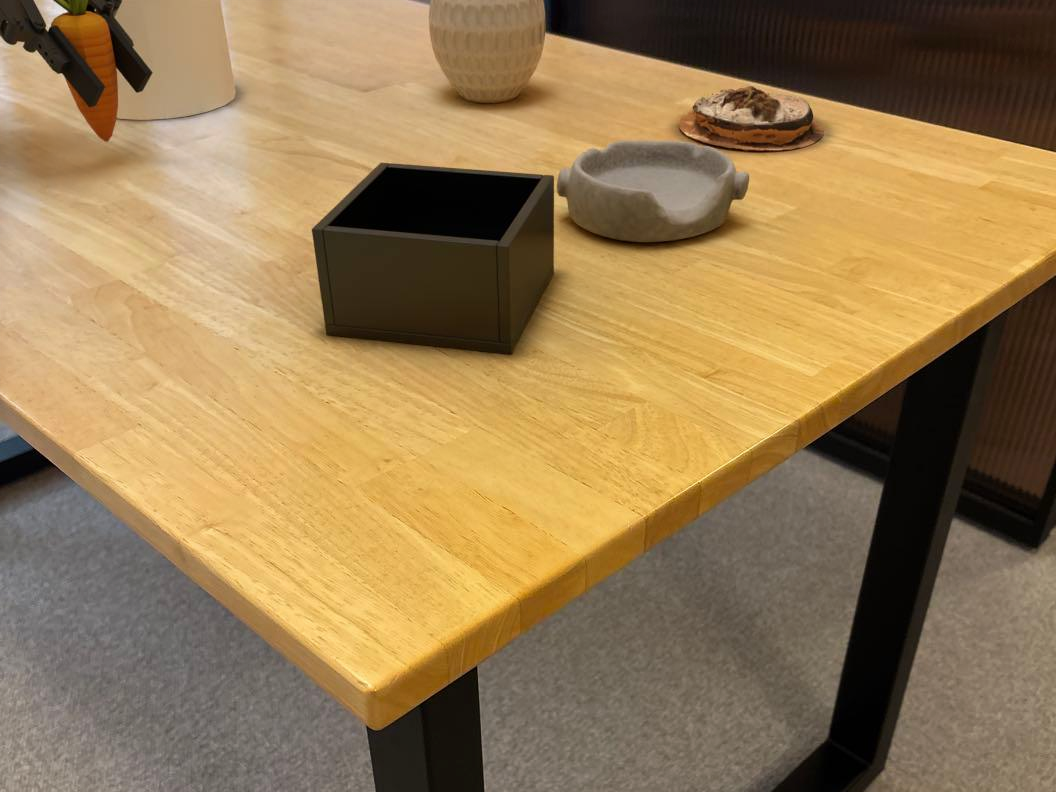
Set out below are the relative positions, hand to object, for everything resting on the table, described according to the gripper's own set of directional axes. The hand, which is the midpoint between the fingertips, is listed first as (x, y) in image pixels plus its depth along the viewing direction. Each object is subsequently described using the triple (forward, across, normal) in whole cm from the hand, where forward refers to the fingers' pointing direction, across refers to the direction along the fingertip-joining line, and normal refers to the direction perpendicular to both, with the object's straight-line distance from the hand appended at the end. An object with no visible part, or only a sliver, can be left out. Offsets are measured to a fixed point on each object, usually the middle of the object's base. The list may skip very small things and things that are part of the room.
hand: (121, 89), depth 100 cm
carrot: (+1, 0, -6) cm, 7 cm away
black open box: (+35, +10, +24) cm, 44 cm away
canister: (-6, -19, -16) cm, 25 cm away
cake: (+38, -41, +28) cm, 62 cm away
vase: (+17, -38, +6) cm, 42 cm away
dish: (+39, -13, +28) cm, 50 cm away
